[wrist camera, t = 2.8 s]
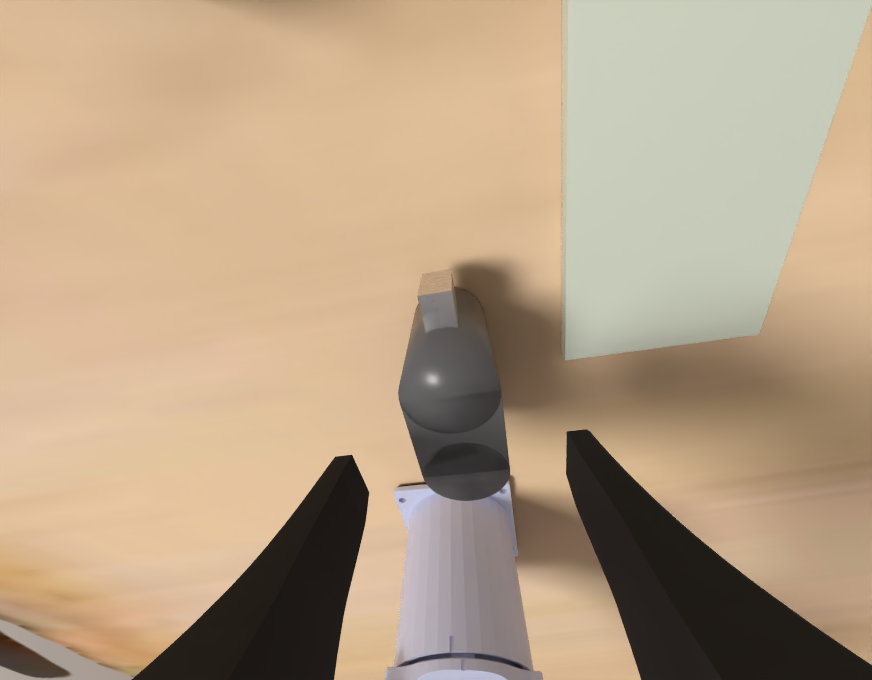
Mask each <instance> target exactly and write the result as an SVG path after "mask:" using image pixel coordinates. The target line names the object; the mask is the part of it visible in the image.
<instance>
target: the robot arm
mask: <svg viewBox="0 0 872 680" xmlns="http://www.w3.org/2000/svg"><path fill="white" fill-rule="evenodd" d="M566 475H567V478H568V481H569V485H570V488H571V491H572V495H573V498H574V501H575V504H576V507H577V510H578V512H579V514H580V517H581V519H582V522H583V524H584V526H585V529H586V531H587V534H588V536H589V538H590V541H591V543H592V545H593V548H594V550H595V553H596V555H597V557H598V560H599V562H600V564H601V567H602V569H603V571H604V574H605V576H606V578H607V581H608V583H609V586H610V588H611V591H612V593H613V596H614V599H615V601H616V604H617V607H618V610H619V613H620V616H621V619H622V622H623V625H624V628H625V631H626V634H627V637H628V640H629V643H630V646H631V649H632V652H633V655H634V658H635V661H636V664H637V667H638V671H639V674H640V677H641V680H872V665H871V664H869V663H868V662H866V661H865V660H863V659H862V658H860V657H858V656H857V655H856V654H854V653H853V652H851V651H850V650H848V649H847V648H845V647H844V646H842V645H841V644H840V643H838V642H837V641H835V640H834V639H832V638H831V637H829V636H828V635H826V634H825V633H823V632H822V631H821V630H819V629H818V628H816V627H815V626H813V625H812V624H810V623H809V622H808V621H806V620H805V619H804V618H802V617H801V616H799V615H798V614H797V613H795V612H794V611H793V610H791V609H790V608H788V607H787V606H786V605H784V604H783V603H782V602H780V601H779V600H777V599H776V598H775V597H773V596H772V595H771V594H769V593H768V592H766V591H765V590H764V589H762V588H761V587H760V586H758V585H757V584H755V583H754V582H753V581H751V580H750V579H749V578H747V577H746V576H745V575H744V574H742V573H741V572H740V571H739V570H737V569H736V568H735V567H733V566H732V565H731V564H730V563H728V562H727V561H726V560H724V559H723V558H722V557H721V556H719V555H718V554H717V553H716V552H715V551H713V550H712V549H711V548H710V547H708V546H707V545H706V544H705V543H704V542H702V541H701V540H700V539H699V538H698V537H696V536H695V535H694V534H693V533H692V532H691V531H689V530H688V529H687V528H686V527H685V526H684V525H682V524H681V523H680V522H679V521H678V520H677V519H676V518H675V517H673V516H672V515H671V514H670V513H669V512H668V511H667V510H666V509H665V508H664V507H662V506H661V505H660V504H659V503H658V502H657V501H656V500H655V499H654V498H653V497H652V496H651V495H650V494H649V493H648V492H647V491H646V490H645V489H644V488H643V487H641V486H640V485H639V484H638V483H637V482H636V481H635V480H634V479H633V478H632V477H631V476H630V475H629V474H628V473H627V472H626V471H625V470H624V469H623V467H622V466H621V465H620V464H619V463H618V462H617V461H616V460H615V459H614V458H613V457H612V456H611V455H610V454H609V453H608V451H607V450H606V449H605V448H604V447H603V446H602V445H601V444H600V443H599V441H598V440H597V439H596V438H595V437H594V436H593V435H592V433H591V432H590V431H588V430H577V431H568V432H567V458H566ZM368 497H369V491H368V489H367V487H366V484H365V482H364V480H363V478H362V476H361V473H360V471H359V469H358V467H357V465H356V463H355V460H354V458H353V456H352V455H347V456H338V457H335V458H334V459H333V461H332V462H331V463H330V465H329V466H328V467H327V469H326V470H325V471H324V473H323V474H322V475H321V477H320V478H319V480H318V481H317V482H316V484H315V485H314V486H313V488H312V489H311V491H310V492H309V493H308V495H307V496H306V497H305V499H304V500H303V501H302V503H301V504H300V505H299V507H298V508H297V509H296V511H295V512H294V513H293V514H292V516H291V517H290V518H289V520H288V521H287V522H286V523H285V525H284V526H283V527H282V528H281V530H280V531H279V532H278V533H277V535H276V536H275V537H274V538H273V539H272V541H271V542H270V543H269V544H268V546H267V547H266V548H265V549H264V550H263V552H262V553H261V554H260V555H259V556H258V557H257V558H256V560H255V561H254V562H253V563H252V564H251V565H250V566H249V568H248V569H247V570H246V571H245V572H244V573H243V574H242V575H241V576H240V577H239V578H238V579H237V581H236V582H235V583H234V584H233V585H232V586H231V587H230V588H229V589H228V590H227V591H226V592H225V593H224V594H223V595H222V596H221V597H220V598H219V599H218V600H217V601H216V602H215V603H214V604H213V605H212V606H211V607H210V608H209V609H208V610H207V611H206V612H205V613H204V614H203V615H202V616H201V617H200V618H199V619H198V620H197V621H196V622H195V623H194V624H193V625H192V626H191V627H190V628H189V629H188V630H187V631H185V632H184V633H183V634H182V635H181V636H180V637H179V638H178V639H177V640H176V641H175V642H174V643H173V644H171V645H170V646H169V647H168V648H167V649H166V650H165V651H164V652H163V653H161V654H160V655H159V656H158V657H157V658H156V659H155V660H154V661H153V662H151V663H150V664H149V665H148V666H147V667H146V668H145V669H143V670H142V671H141V672H140V673H139V674H138V675H137V676H135V677H134V678H133V679H132V680H334V675H335V667H336V660H337V653H338V647H339V641H340V634H341V628H342V622H343V616H344V611H345V606H346V601H347V597H348V593H349V589H350V585H351V581H352V577H353V572H354V568H355V564H356V560H357V556H358V552H359V548H360V544H361V540H362V535H363V531H364V527H365V521H366V514H367V506H368ZM394 498H395V500H396V503H397V505H398V508H399V510H400V513H401V515H402V518H403V520H404V523H405V525H406V528H407V530H408V537H407V547H406V556H405V565H404V575H403V584H402V594H401V603H400V613H399V622H398V632H397V641H396V651H395V660H394V667H387V669H386V675H385V680H543V676H542V673H541V672H540V671H534V670H533V664H532V658H531V652H530V646H529V640H528V634H527V628H526V622H525V616H524V610H523V604H522V598H521V592H520V586H519V580H518V574H517V568H516V562H515V557H517V556H518V550H517V541H516V533H515V524H514V516H513V507H512V499H511V490H510V483H509V480H508V482H507V483H506V485H505V486H504V487H503V488H502V489H501V490H500V491H498V492H497V493H495V494H494V495H492V496H489V497H487V498H484V499H480V500H474V501H459V500H453V499H449V498H445V497H443V496H441V495H439V494H437V493H435V492H434V491H433V490H431V489H430V488H429V487H428V485H427V484H424V485H413V486H403V487H397V488H396V489H395V490H394Z"/></svg>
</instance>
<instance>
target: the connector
mask: <svg viewBox="0 0 872 680" xmlns="http://www.w3.org/2000/svg"><path fill="white" fill-rule="evenodd" d="M418 301H419V304H418V305H417V308H416V311H415V315H414V320H413V324H412V329H411V334H410V338H409V343H408V348H407V352H406V357H405V362H404V366H403V371H402V376H401V380H400V385H399V392H398V394H399V401H400V405H401V408H402V411H403V415H404V418H405V421H406V424H407V427H408V430H409V434H410V437H411V440H412V443H413V446H414V450H415V453H416V456H417V459H418V462H419V466H420V469H421V472H422V475H423V478H424V481H425V483H426V484H427V485H428V487H429V488H430V489H431V490H433V491H434V492H435V493H437V494H439V495H441V496H443V497H445V498H449V499H453V500H459V501H474V500H480V499H484V498H487V497H489V496H492V495H494V494H495V493H497V492H498V491H500V490H501V489H502V488H503V487H504V486H505V485H506V483H507V482H508V479H509V476H510V465H509V457H508V448H507V439H506V430H505V421H504V412H503V404H502V395H501V388H500V383H499V379H498V374H497V370H496V365H495V361H494V356H493V352H492V347H491V343H490V339H489V334H488V330H487V325H486V321H485V316H484V312H483V308H482V306H481V304H480V302H479V301H478V299H477V298H476V297H475V296H474V295H472V294H471V293H470V292H468V291H466V290H464V289H461V288H458V287H454V283H453V277H452V271H451V269H449V270H444V271H438V272H432V273H426V274H422V278H421V283H420V287H419V292H418Z"/></svg>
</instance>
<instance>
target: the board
mask: <svg viewBox="0 0 872 680" xmlns="http://www.w3.org/2000/svg"><path fill="white" fill-rule="evenodd" d="M871 6H872V0H562V356H563V358H564V359H565V361H567V360H574V359H582V358H589V357H596V356H604V355H611V354H619V353H626V352H634V351H641V350H649V349H656V348H663V347H671V346H678V345H686V344H693V343H701V342H708V341H716V340H723V339H731V338H738V337H745V336H753V335H759V334H760V331H761V328H762V325H763V322H764V319H765V316H766V313H767V310H768V307H769V305H770V302H771V299H772V296H773V293H774V290H775V287H776V284H777V281H778V278H779V275H780V272H781V269H782V266H783V264H784V261H785V258H786V255H787V252H788V249H789V246H790V243H791V240H792V237H793V234H794V231H795V228H796V226H797V223H798V220H799V217H800V214H801V211H802V208H803V205H804V202H805V199H806V196H807V193H808V190H809V187H810V185H811V182H812V179H813V176H814V173H815V170H816V167H817V164H818V161H819V158H820V155H821V152H822V149H823V146H824V144H825V141H826V138H827V135H828V132H829V129H830V126H831V123H832V120H833V117H834V114H835V111H836V108H837V105H838V103H839V100H840V97H841V94H842V91H843V88H844V85H845V82H846V79H847V76H848V73H849V70H850V67H851V65H852V62H853V59H854V56H855V53H856V50H857V47H858V44H859V41H860V38H861V35H862V32H863V29H864V26H865V24H866V21H867V18H868V15H869V12H870V9H871Z"/></svg>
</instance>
